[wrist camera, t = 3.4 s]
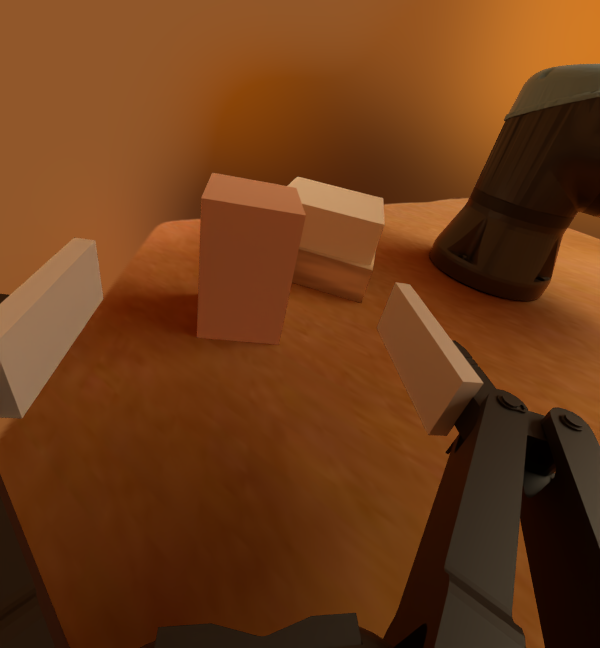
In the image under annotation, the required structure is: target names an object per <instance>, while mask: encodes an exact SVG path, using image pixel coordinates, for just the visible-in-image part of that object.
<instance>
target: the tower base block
mask: <svg viewBox="0 0 600 648" xmlns="http://www.w3.org/2000/svg"><path fill="white" fill-rule="evenodd" d="M375 254H376V251H375ZM375 254H374V257H373V260H372V263H371V265H366V264H363V263H359V262H355V261H351V260H348V259H344V258H340V257H336V256H333V255H329V254H325V253H321V252H318V251H314V250H310V249H306V248H303V247H299V250H298V255H297V260H296V265H295V270H294V274H293V279H292V283H295V284H299V285H302V286H305V287H309V288H312V289H315V290H319V291H322V292H325V293H329V294H332V295H336V296H339V297H342V298H346V299H349V300H352V301H356V302H359V303H361V302H362V299H363V297H364V294H365V291H366V288H367V285H368V282H369V280H370V277H371V274H372V271H373V266H374V260H375Z"/></svg>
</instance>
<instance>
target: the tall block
mask: <svg viewBox="0 0 600 648" xmlns="http://www.w3.org/2000/svg"><path fill="white" fill-rule="evenodd" d="M305 217H306V214H305V211H304V209H303V206H302V203H301V200H300V197H299V194H298V191H297V188H294V187H288V186H283V185H277V184H272V183H266V182H261V181H255V180H250V179H244V178H238V177H233V176H228V175H222V174H216V173H212V175H211V177H210V180H209V182H208V184H207V186H206V189H205V191H204V193H203V196H202V198H201V227H200V257H199V287H198V318H197V338H208V339H219V340H231V341H242V342H253V343H265V344H276V345H279V341H280V337H281V332H282V327H283V322H284V318H285V313H286V308H287V303H288V298H289V294H290V289H291V284H292V279H293V274H294V270H295V265H296V260H297V255H298V250H299V246H300V241H301V236H302V231H303V227H304V222H305Z"/></svg>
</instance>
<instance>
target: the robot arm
mask: <svg viewBox="0 0 600 648" xmlns="http://www.w3.org/2000/svg"><path fill="white" fill-rule="evenodd" d="M504 121H505V123H504V125H503V128H502V130H501V132H500V134H499V136H498V138H497V140H496V143H495V145H494V147H493V149H492V151H491V153H490V156H489V158H488V160H487V162H486V164H485V166H484V168H483V170H482V172H481V174H480V177H479V179H478V181H477V183H476V185H475V187H474V189H473V192H472V194H471V196H470V198H469V200H468V202H467V203H466V205H465V206H464V207H463V209H462V210H461V211H460V212H459V213H458V214H457V215H456V217H455V218H454V219H453V220H452V221H451V222H450V223H449V225H448V226H447V227H446V228H445V229H444V230H443V231H442V233H441V234H440V235H439V236H438V237H437V239H436V240H435V242H434V244H433V247H432V249H431V251H430V254H429V256H430V259H431V260H432V262H433V263H434V264H435V265H436V266H437V267H438V268H439V269H441V270H442V271H443V272H445V273H446V274H448V275H449V276H451V277H453V278H454V279H456V280H458V281H460V282H462V283H464V284H466V285H468V286H470V287H473V288H475V289H478V290H480V291H483V292H486V293H489V294H492V295H495V296H499V297H503V298H507V299H513V300H520V301H531V300H536V299H538V298H539V297H540V296H541V295H542V293H543V292H544V291H545V289H546V288H547V286H548V285H549V283H550V281H551V277H552V274H553V270H554V266H555V262H556V258H557V255H558V251H559V247H560V243H561V239H562V237H563V234H564V233H565V231H566V229H567V228H568V226H569V225H570V223H571V222H572V220H573V219H574V217H575V216H576V215H577V213H578V212H582V213H586V214H589V215H592V216H596V217H599V218H600V64H579V65H566V66H558V67H552V68H548V69H545V70H542V71H540V72H538V73H536V74H535V75H533V76H532V77H531V78H530V79H528V81H527V82H526V83H525V84H524V86H523V88H522V90H521V91H520V93H519V95H518V97H517V99H516V101H515V103H514V105H513V106H512V108H511V110H510V112H509V114H507V115H506V117H505V119H504ZM102 300H103V292H102V285H101V278H100V271H99V263H98V256H97V249H96V242H95V240H88V239H80V238H73V239H72V240H71V241H70V242H69V243H68V244H66V245H65V246H64V247H63V248H62V249H61V250H60V251H59V252H58V253H56V254H55V255H54V256H53V257H52V258H51V259H50V260H49V261H47V262H46V263H45V264H44V265H43V266H42V267H41V268H40V269H39V270H38V271H36V272H35V273H34V274H33V275H32V276H31V277H30V278H28V279H27V280H26V281H25V282H24V283H23V284H22V285H21V286H20V287H18V288H17V289H16V290H15V291H14V292H13V293H12V294H11V295H6V294H0V417H2V418H23V416H24V415H25V414H26V412H27V411H28V409H29V408H30V406H31V405H32V403H33V402H34V400H35V399H36V397H37V396H38V394H39V393H40V391H41V390H42V388H43V387H44V386H45V384H46V383H47V381H48V380H49V378H50V377H51V375H52V374H53V372H54V371H55V369H56V368H57V366H58V365H59V363H60V362H61V360H62V359H63V358H64V356H65V355H66V353H67V352H68V350H69V349H70V347H71V346H72V344H73V343H74V341H75V340H76V338H77V337H78V335H79V334H80V332H81V331H82V330H83V328H84V327H85V325H86V324H87V322H88V321H89V319H90V318H91V316H92V315H93V313H94V312H95V310H96V309H97V307H98V306H99V304H100V303H101V302H102ZM377 330H378V332H379V334H380V336H381V338H382V340H383V342H384V345H385V347H386V349H387V351H388V353H389V355H390V357H391V359H392V361H393V363H394V365H395V367H396V369H397V371H398V373H399V376H400V378H401V380H402V382H403V384H404V386H405V388H406V390H407V392H408V394H409V396H410V398H411V400H412V402H413V404H414V406H415V409H416V411H417V413H418V415H419V417H420V419H421V421H422V423H423V425H424V427H425V429H426V431H427V433H428V435H440V436H447V435H448V433H449V432H450V430H451V429H452V428H453V426H454V425H455V426H456V428H457V430H458V432H459V435H458V436H457V438H456V439H455V440H454V442H453V443H452V444H451V446H450V447H449V449H448V450H447V451H446V453H447V454H449V453H450V452H451V453H450V456H449V459H448V462H447V465H446V468H445V471H444V474H443V477H442V480H441V483H440V486H439V489H438V492H437V495H436V497H435V500H434V503H433V506H432V509H431V512H430V515H429V518H428V521H427V524H426V527H425V530H424V533H423V536H422V539H421V542H420V545H419V548H418V551H417V554H416V557H415V560H414V563H413V566H412V569H411V572H410V575H409V578H408V581H407V584H406V587H405V590H404V593H403V596H402V599H401V602H400V605H399V608H398V610H397V613H396V615H395V617H394V619H393V621H392V623H391V624H390V626H389V628H388V630H387V632H386V634H385V636H384V638H383V639H382V638H380V637H379V636H377V635H376V634H374V633H372V632H370V631H368V630H366V629H364V628H362V627H359V626H358V621H357V616H356V613H347V614H333V615H320V616H311V617H308V618H306V619H304V620H302V621H299V622H297V623H295V624H293V625H290V626H288V627H286V628H284V629H281V630H279V631H277V632H274V633H272V634H270V635H267V636H256V635H252V634H248V633H245V632H241V631H237V630H234V629H230V628H226V627H223V626H219V625H215V624H211V623H210V624H196V625H182V626H169V627H158V632H157V638H156V641H154V642H151V643H149V644H146V645H144V646H142V647H140V648H526V647H525V636H524V633H523V630H522V628H520V627H519V626H518V625H516V624H515V623H514V622H513V619H512V604H513V592H514V580H515V569H516V557H517V546H518V534H519V523H520V521H521V526H522V531H523V536H524V541H525V546H526V552H527V557H528V562H529V567H530V572H531V577H532V582H533V588H534V593H535V598H536V603H537V608H538V613H539V618H540V624H541V629H542V634H543V639H544V644H545V648H600V446H599V444H598V441H597V439H596V437H595V435H594V433H593V431H592V430H591V428H590V427H589V425H588V424H587V423H586V422H585V421H584V420H583V419H582V418H581V417H579V416H577V415H576V414H575V413H573V412H570V411H568V410H566V409H562V408H552V409H551V410H550V411H549V412H548V413H547V415H546V416H543V415H540V414H537V413H534V412H531V411H528V409H527V407H526V406H525V404H524V403H523V402H522V401H521V400H520V399H518V398H517V397H516V396H514V395H512V394H511V393H509V392H506V391H504V390H499V389H496V388H495V386H494V385H493V384H492V383H491V381H490V380H489V379H488V377H487V376H486V375H485V374H484V372H483V371H482V370H481V368H480V367H478V364H477V363H476V362H475V361H474V359H472V357H471V355H470V354H469V353H468V352H467V350H466V349H465V348H464V347H462V346H461V345H460V344H459V343H457V342H456V341H453V340H451V339H450V337H449V336H448V335H447V333H446V332H445V331H444V329H443V328H442V327H441V325H440V324H439V323H438V321H437V320H436V319H435V317H434V316H433V315H432V313H431V312H430V311H429V309H428V308H427V307H426V305H425V304H424V303H423V301H422V300H421V298H420V297H419V296H418V294H417V293H416V292H415V290H414V289H413V288H412V286H411V285H410V284H405V283H398V282H395V284H394V287H393V289H392V291H391V294H390V296H389V299H388V301H387V304H386V306H385V309H384V311H383V314H382V316H381V319H380V321H379V323H378V326H377ZM0 648H70V647H69V644H68V642H67V640H66V638H65V635H64V633H63V630H62V628H61V625H60V623H59V620H58V618H57V615H56V613H55V610H54V608H53V605H52V603H51V600H50V598H49V595H48V593H47V590H46V588H45V585H44V583H43V580H42V578H41V575H40V573H39V570H38V568H37V565H36V563H35V560H34V558H33V555H32V553H31V550H30V548H29V545H28V543H27V540H26V538H25V535H24V533H23V530H22V528H21V525H20V523H19V520H18V518H17V515H16V513H15V510H14V508H13V505H12V503H11V500H10V497H9V495H8V492H7V490H6V487H5V485H4V482H3V480H2V477H1V475H0Z"/></svg>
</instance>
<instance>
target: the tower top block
mask: <svg viewBox="0 0 600 648" xmlns="http://www.w3.org/2000/svg"><path fill="white" fill-rule="evenodd" d="M288 187H294V188H297V191H298V194H299V197H300V200H301V203H302V206H303V209H304V211H305V214H306V217H305V222H304V227H303V231H302V236H301V241H300V246H299V247H303V248H306V249H310V250H314V251H318V252H321V253H325V254H329V255H333V256H336V257H340V258H344V259H348V260H351V261H355V262H359V263H363V264H366V265H371V263H372V260H373V257H374V254H375V251H376V248H377V245H378V242H379V239H380V236H381V233H382V231H383V228H384V205H383V198H379V197H375V196H371V195H368V194H364V193H360V192H356V191H352V190H348V189H344V188H340V187H336V186H332V185H328V184H324V183H321V182H317V181H312V180H309V179H305V178H300V177H297V178H296V179H294V180H293V181H292V182H291V183H290V184H289V185H288Z"/></svg>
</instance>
